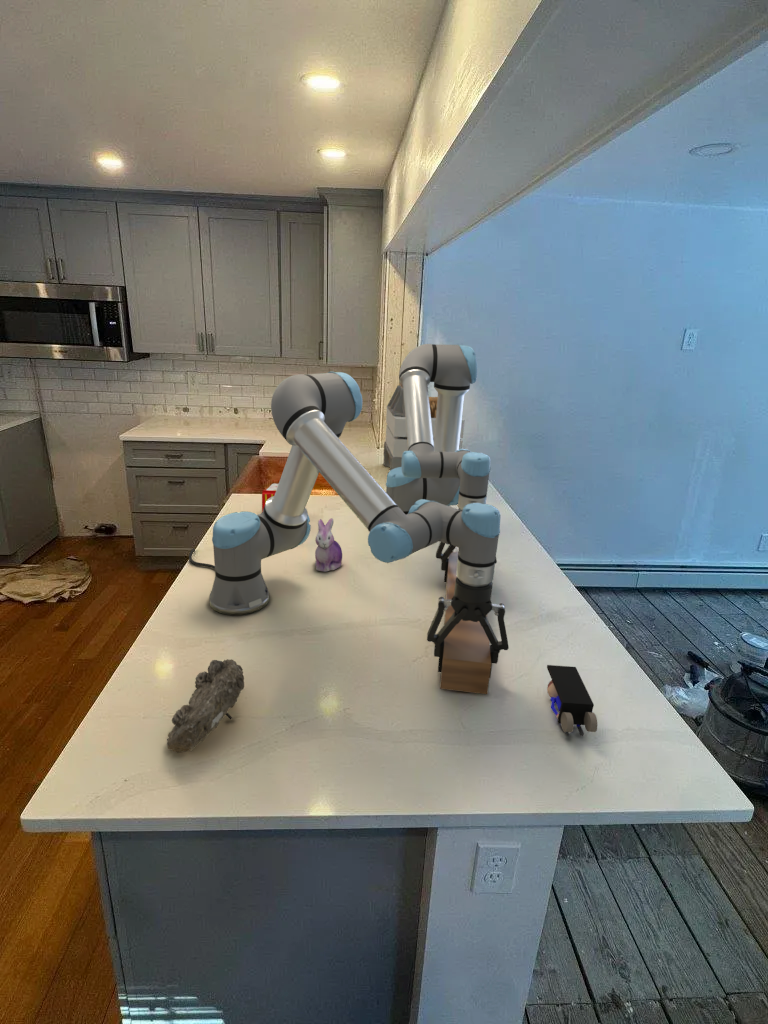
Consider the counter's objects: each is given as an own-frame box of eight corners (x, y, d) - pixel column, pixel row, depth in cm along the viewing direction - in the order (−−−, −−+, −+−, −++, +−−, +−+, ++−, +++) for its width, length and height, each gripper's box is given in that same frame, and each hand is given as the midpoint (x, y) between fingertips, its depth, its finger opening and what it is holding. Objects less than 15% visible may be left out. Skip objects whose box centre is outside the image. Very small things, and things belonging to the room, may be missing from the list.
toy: (301, 479, 224) (291, 492, 194) (301, 512, 226) (291, 530, 197) (270, 478, 223) (256, 491, 194) (271, 511, 226) (256, 529, 197)
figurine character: (595, 749, 106) (570, 690, 120) (603, 719, 103) (577, 662, 116) (559, 748, 106) (538, 690, 119) (567, 718, 103) (545, 662, 116)
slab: (446, 573, 170) (449, 551, 167) (479, 577, 169) (482, 554, 166) (440, 688, 118) (443, 658, 115) (487, 694, 117) (491, 663, 114)
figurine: (319, 575, 166) (320, 527, 161) (307, 561, 175) (307, 516, 170) (349, 569, 170) (350, 523, 165) (336, 556, 179) (336, 512, 174)
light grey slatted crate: (382, 463, 289) (386, 382, 275) (445, 464, 293) (451, 384, 279) (390, 482, 257) (394, 392, 243) (460, 483, 261) (468, 394, 247)
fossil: (192, 660, 117) (244, 628, 112) (224, 691, 120) (276, 661, 115) (142, 746, 98) (202, 712, 93) (182, 779, 101) (242, 748, 96)
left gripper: (418, 581, 113) (411, 675, 121) (532, 593, 110) (517, 688, 118) (420, 565, 120) (413, 655, 128) (528, 576, 118) (514, 667, 125)
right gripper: (429, 510, 153) (423, 584, 161) (513, 517, 151) (503, 592, 158) (431, 501, 160) (425, 572, 168) (511, 508, 158) (501, 580, 165)
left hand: (463, 671), depth 123 cm, fingers closed on slab, 10 cm apart
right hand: (463, 582), depth 163 cm, fingers closed on slab, 10 cm apart
